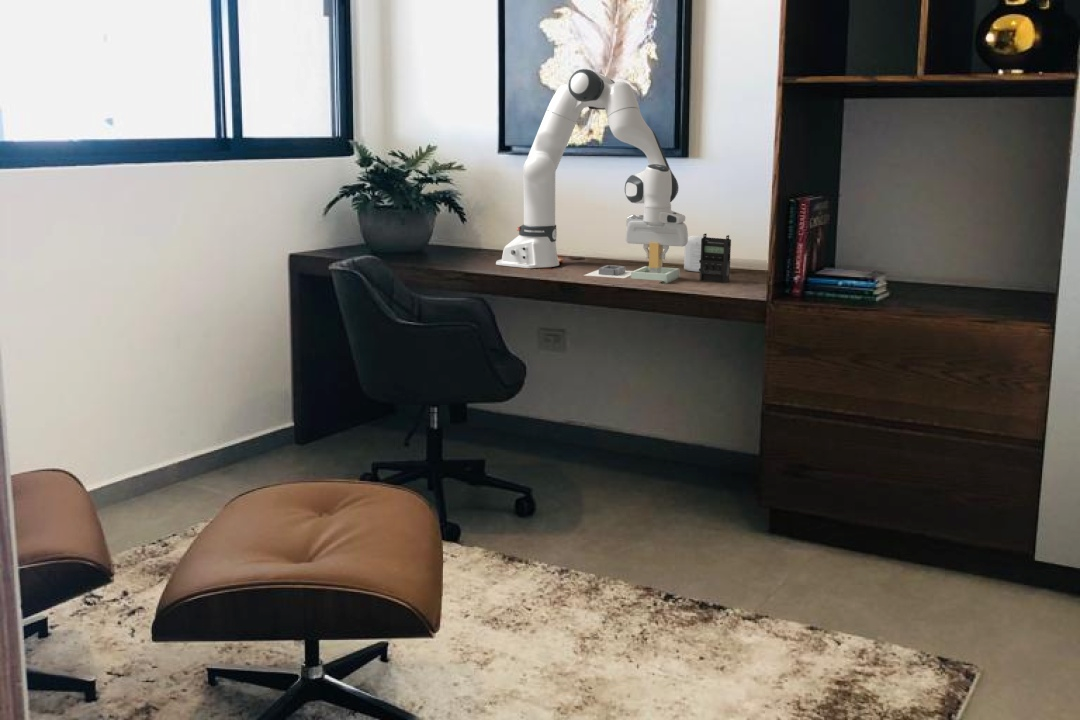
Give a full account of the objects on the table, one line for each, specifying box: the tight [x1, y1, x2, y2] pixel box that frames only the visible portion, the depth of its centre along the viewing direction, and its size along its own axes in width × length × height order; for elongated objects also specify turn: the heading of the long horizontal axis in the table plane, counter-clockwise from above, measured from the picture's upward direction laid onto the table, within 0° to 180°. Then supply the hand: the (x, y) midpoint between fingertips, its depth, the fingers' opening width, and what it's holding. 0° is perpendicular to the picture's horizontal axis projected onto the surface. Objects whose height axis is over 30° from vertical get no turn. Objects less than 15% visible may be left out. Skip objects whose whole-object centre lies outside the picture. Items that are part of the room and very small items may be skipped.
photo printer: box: [683, 234, 711, 273], centre depth 376 cm, size 10×4×12 cm, turn 56°
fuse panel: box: [583, 264, 633, 279], centre depth 366 cm, size 14×16×3 cm
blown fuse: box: [648, 243, 664, 273], centre depth 359 cm, size 3×5×10 cm, turn 157°
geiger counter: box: [699, 233, 732, 284], centre depth 356 cm, size 10×4×15 cm, turn 56°
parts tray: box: [630, 265, 680, 285], centre depth 360 cm, size 12×14×3 cm
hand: (655, 258), depth 359 cm, fingers closed on blown fuse, 3 cm apart
